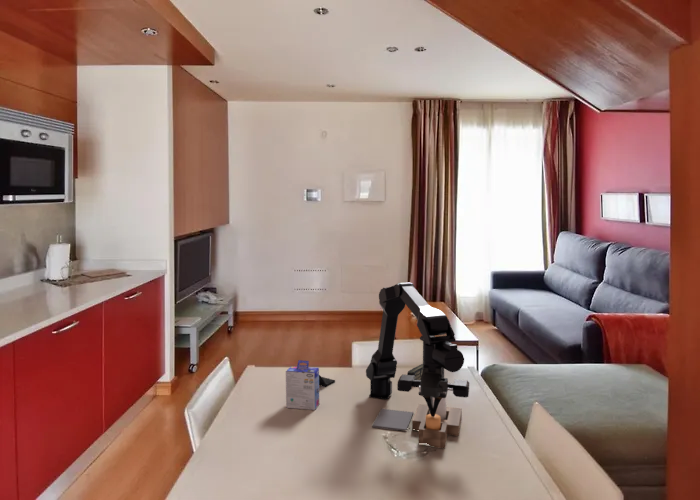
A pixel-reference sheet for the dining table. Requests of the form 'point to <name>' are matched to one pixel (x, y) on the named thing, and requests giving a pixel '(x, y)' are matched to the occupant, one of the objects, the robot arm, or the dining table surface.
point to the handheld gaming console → (325, 381)
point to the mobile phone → (416, 372)
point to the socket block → (447, 426)
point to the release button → (433, 422)
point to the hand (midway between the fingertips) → (433, 415)
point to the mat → (393, 419)
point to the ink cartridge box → (302, 387)
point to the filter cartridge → (441, 408)
